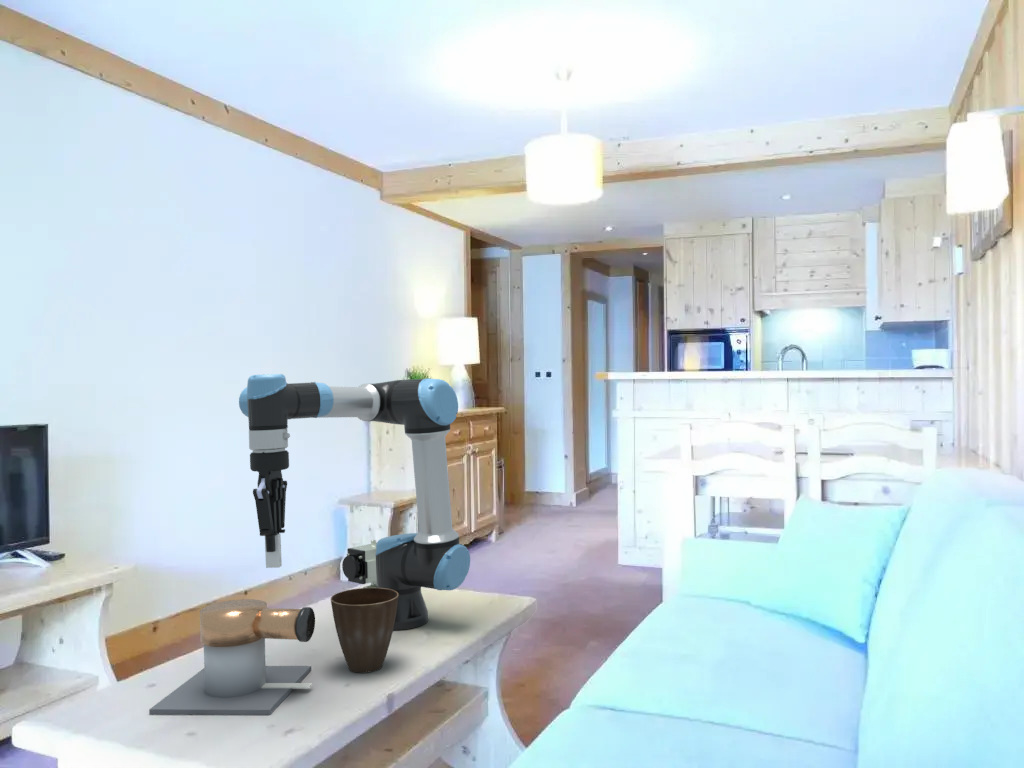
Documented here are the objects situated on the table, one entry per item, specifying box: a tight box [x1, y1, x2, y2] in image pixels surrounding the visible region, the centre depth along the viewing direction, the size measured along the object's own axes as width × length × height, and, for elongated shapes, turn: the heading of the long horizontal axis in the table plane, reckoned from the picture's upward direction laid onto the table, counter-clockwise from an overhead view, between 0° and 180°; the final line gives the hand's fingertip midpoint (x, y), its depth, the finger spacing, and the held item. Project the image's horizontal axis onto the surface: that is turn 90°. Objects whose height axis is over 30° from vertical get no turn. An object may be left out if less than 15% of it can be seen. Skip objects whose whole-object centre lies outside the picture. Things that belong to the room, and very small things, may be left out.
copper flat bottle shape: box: [199, 598, 316, 647], centre depth 162 cm, size 23×13×7 cm, turn 79°
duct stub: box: [148, 638, 314, 716], centre depth 163 cm, size 28×24×11 cm
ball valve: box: [341, 539, 377, 588], centre depth 232 cm, size 18×8×18 cm, turn 138°
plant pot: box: [330, 587, 398, 674], centre depth 175 cm, size 15×15×16 cm
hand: (273, 566), depth 158 cm, fingers closed
